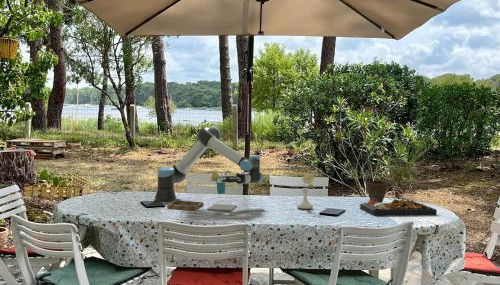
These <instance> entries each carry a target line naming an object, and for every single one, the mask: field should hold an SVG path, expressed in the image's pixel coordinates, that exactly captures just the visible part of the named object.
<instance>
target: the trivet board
mask: <svg viewBox="0 0 500 285" xmlns="http://www.w3.org/2000/svg"><path fill="white" fill-rule="evenodd" d="M236 208H238V205H237V204H223V203H222V204H221V203H214V204H212V205H210V206H209V207H207V208H206V210H207V211H209V212H210V211H212V212H213V211H215V212H230V213H231V212H232V211H233V210H235V209H236Z"/></svg>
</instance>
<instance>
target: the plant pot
mask: <svg viewBox="0 0 500 285" xmlns="http://www.w3.org/2000/svg"><path fill="white" fill-rule="evenodd" d="M366 187H367V188H366V189H367V193H368V198H369V200H372V199H371V198H375V199H378V201H379V202H382V203H384V202H383V201H384V199H385V195H386V192H387V189H388V182H387V181H379V180H371V181H370V180H369V181H366ZM370 196H371V197H370Z"/></svg>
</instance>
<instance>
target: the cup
mask: <svg viewBox="0 0 500 285" xmlns="http://www.w3.org/2000/svg"><path fill="white" fill-rule="evenodd" d="M227 173H230V174H231V173H232V171H231V170H226V171H225V173H224V175H223V176H224V177H219V176H220V175H219V173H216V172H214V173H212V174H211V177H212V179H213V180H216V181H215V184H216V190H217V194H218V195H222V194H223V195H224V194H225V193H226V182H225V183H217V179H222V178H226V177H225V176H227Z"/></svg>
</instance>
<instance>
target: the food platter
mask: <svg viewBox="0 0 500 285" xmlns="http://www.w3.org/2000/svg"><path fill="white" fill-rule="evenodd" d="M370 197H371V196H370ZM371 199H372V200H370V199H369V200H368V201H367V202H363V203H360V204H359V210H361V211H363V212H365V213H367V214H369V215H371V216H372V217H389V216H392V217H395V216H397V217H398V216H400V217H401V216H404V217H405V216H409V217H410V216H437V212H438V211H437V209H436V208H434V207H432V206H428V205H425V204H424V203H420V202H417V201H414V200H413V199H411V200H410V199H404V198H403V199H397V198H394V199H393V200H392V202H389V203H386V202H385V203H384V202H379V201H378V199H375V198H371Z"/></svg>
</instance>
